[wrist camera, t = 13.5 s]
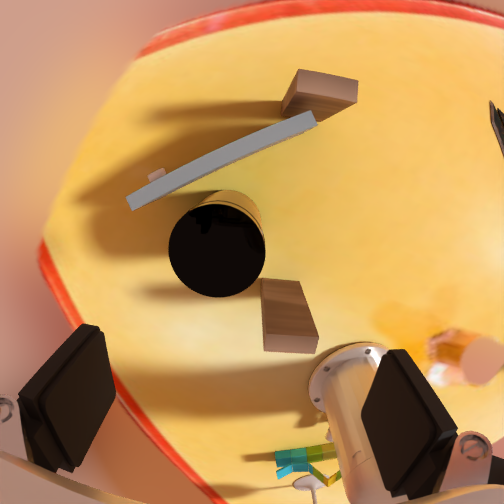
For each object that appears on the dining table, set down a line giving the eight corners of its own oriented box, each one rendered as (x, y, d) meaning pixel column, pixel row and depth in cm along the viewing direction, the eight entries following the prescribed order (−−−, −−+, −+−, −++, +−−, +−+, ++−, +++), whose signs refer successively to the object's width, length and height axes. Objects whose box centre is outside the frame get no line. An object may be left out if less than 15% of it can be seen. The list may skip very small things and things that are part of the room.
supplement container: (222, 174, 29) (207, 182, 19) (275, 217, 30) (286, 246, 20) (182, 226, 31) (150, 258, 21) (233, 266, 32) (224, 314, 22)
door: (291, 114, 27) (304, 97, 19) (300, 134, 27) (317, 125, 20) (152, 178, 29) (120, 185, 21) (161, 197, 29) (132, 210, 22)
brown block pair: (297, 294, 33) (314, 353, 22) (260, 291, 33) (263, 351, 22) (322, 106, 27) (358, 80, 17) (282, 100, 27) (298, 68, 16)
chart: (276, 459, 43) (281, 532, 28) (274, 450, 42) (279, 526, 27) (437, 420, 41) (469, 477, 27) (441, 409, 40) (476, 467, 26)
